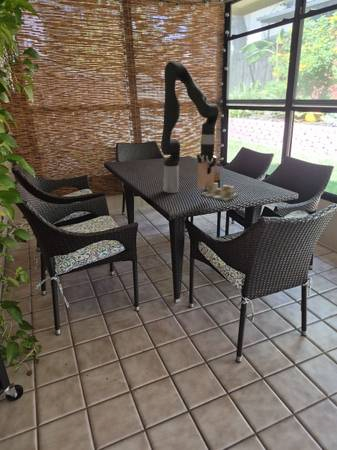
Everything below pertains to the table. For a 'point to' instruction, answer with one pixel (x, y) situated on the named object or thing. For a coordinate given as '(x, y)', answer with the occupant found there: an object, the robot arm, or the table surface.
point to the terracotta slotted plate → (205, 175)
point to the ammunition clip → (216, 178)
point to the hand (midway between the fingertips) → (206, 173)
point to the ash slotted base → (220, 192)
